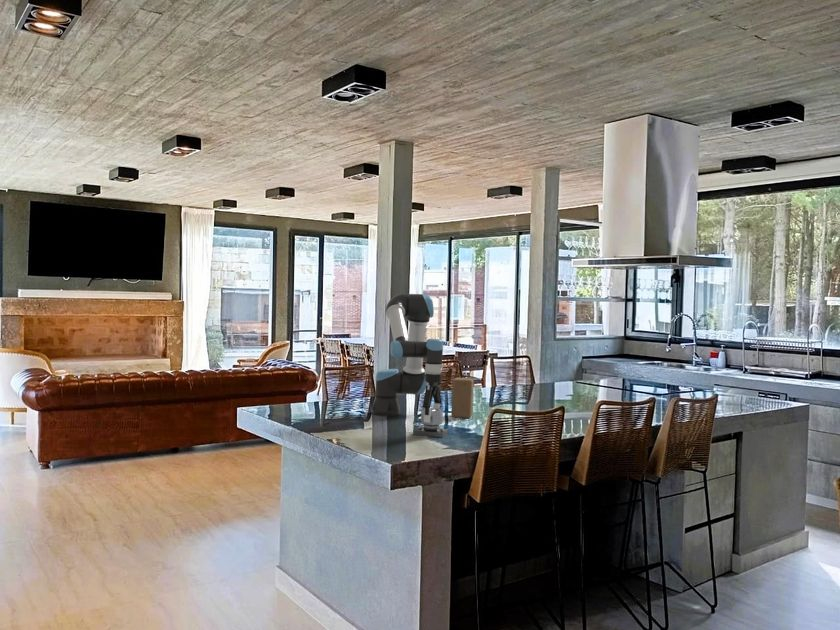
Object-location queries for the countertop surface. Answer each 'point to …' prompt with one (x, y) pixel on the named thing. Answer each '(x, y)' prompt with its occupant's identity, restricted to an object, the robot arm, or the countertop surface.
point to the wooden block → (462, 397)
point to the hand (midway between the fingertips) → (431, 419)
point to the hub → (433, 417)
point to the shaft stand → (431, 430)
